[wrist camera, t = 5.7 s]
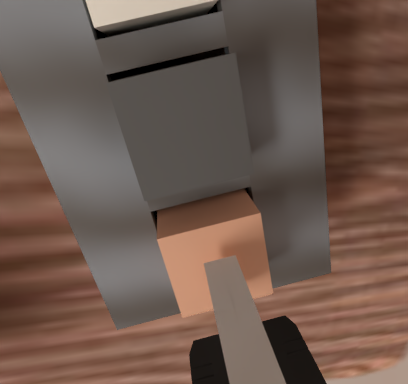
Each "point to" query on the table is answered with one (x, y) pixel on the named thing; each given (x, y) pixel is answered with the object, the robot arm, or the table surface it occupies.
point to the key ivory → (142, 13)
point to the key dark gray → (184, 125)
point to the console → (118, 153)
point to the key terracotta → (212, 246)
